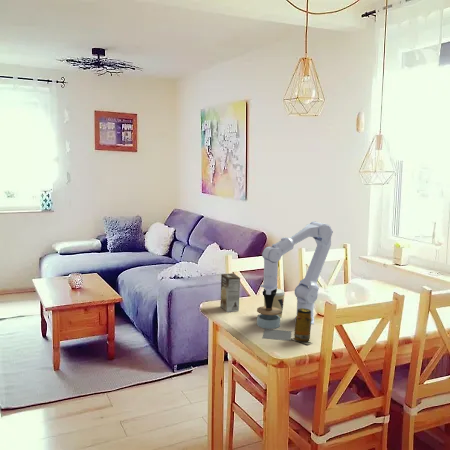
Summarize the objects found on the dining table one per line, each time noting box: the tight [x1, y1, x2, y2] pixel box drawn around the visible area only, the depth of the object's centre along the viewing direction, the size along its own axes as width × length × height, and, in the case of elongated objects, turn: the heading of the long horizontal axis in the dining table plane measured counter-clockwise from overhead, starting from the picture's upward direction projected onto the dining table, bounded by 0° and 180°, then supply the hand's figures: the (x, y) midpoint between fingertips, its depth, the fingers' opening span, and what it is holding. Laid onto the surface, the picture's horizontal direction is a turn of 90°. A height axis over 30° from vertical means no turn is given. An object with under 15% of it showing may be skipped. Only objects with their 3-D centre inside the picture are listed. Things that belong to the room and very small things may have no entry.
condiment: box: [290, 308, 313, 345], centre depth 187 cm, size 7×8×12 cm
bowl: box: [256, 313, 281, 330], centre depth 204 cm, size 10×10×4 cm
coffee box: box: [220, 272, 241, 313], centre depth 225 cm, size 9×6×16 cm
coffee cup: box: [263, 288, 286, 319], centre depth 216 cm, size 9×9×12 cm
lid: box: [256, 305, 281, 315], centre depth 203 cm, size 10×10×5 cm
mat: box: [261, 328, 292, 342], centre depth 192 cm, size 11×11×1 cm
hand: (269, 306), depth 203 cm, fingers closed on lid, 3 cm apart
